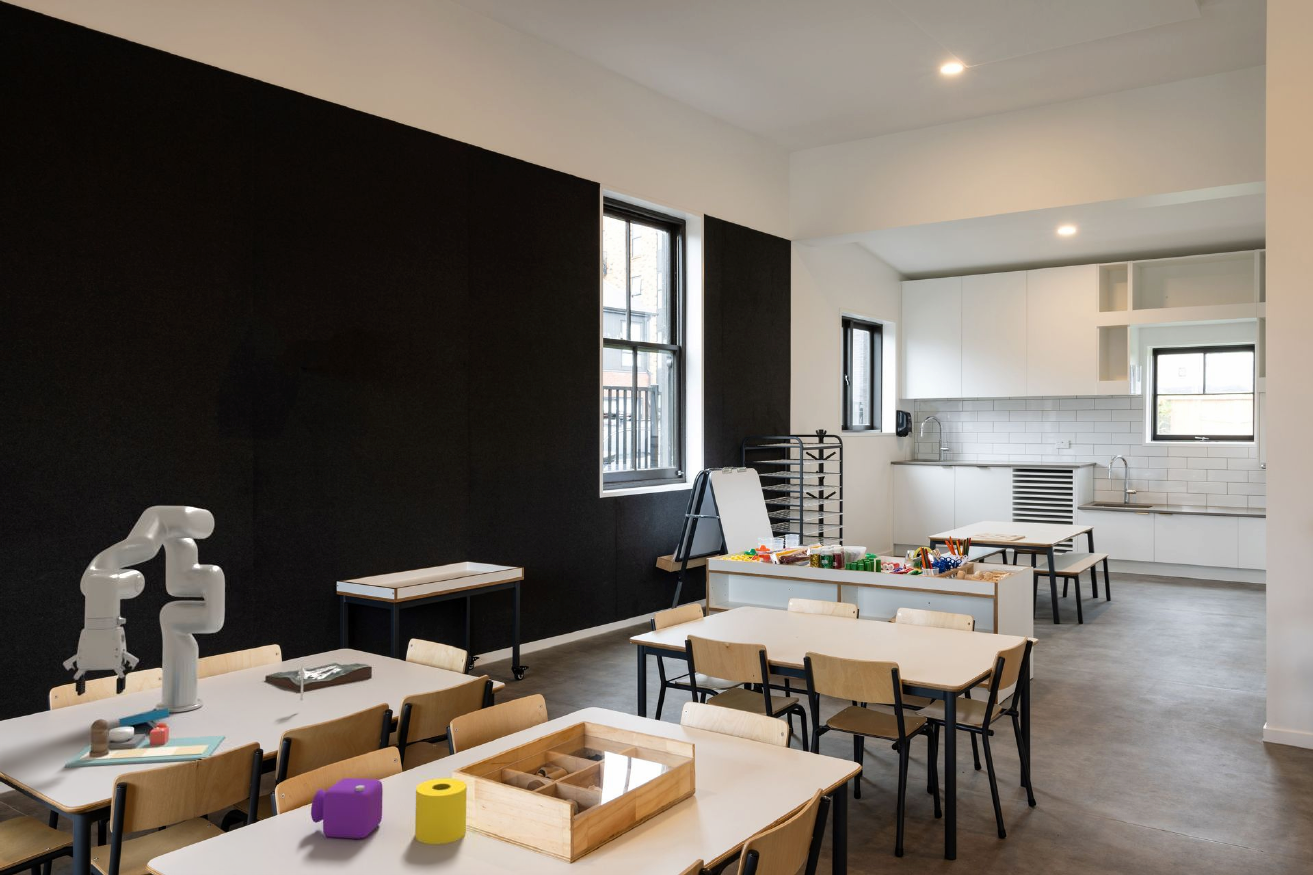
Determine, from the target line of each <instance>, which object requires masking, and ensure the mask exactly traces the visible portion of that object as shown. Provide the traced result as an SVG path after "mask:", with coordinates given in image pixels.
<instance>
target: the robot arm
mask: <svg viewBox="0 0 1313 875" xmlns="http://www.w3.org/2000/svg"><path fill="white" fill-rule="evenodd" d="M214 528H215V518H214V516H213V514H212V513H211V512H210V510H207V509H205V508H204V509H202V508H197V507H194V506H185V505H155V506H151V507H148V508H146V509H145V510H144V511H143V513H142V514H141V516H140V517H139V518H138V521H137V522H135V525H134V527H133V528H132V529H131V531H130V533H129V534H128V536H127V537H126V539H124V540H121V541H120V542H117V543H115V544H113V545H111V546H110V547H108V548H106V549H104V550H103V551H101V552H99V553H98V554H97V555H96V556H95V557H94V558H93V559H92V560H91V562H90V563H89V565H88V566H87V567H86V569H85V571H84V573H83V575H82V577H81V580H80V586H79V587H80V591H81V593H82V594H83V595H84V596H85V602H84V604H85V605H84V628H83V629H82V630H81V631H80V637H79V641H78V645H77V653H76V654H74V655H73V656H72V657H70V658H68V659H67V660H65V661H63V663H62V665H63V666H64V668H65V669H66V670H67V672H68V674H69V675H71V676H72V677H73V679H74V680H75V692H76V693H77V694H76V695H77V696H78V697H80V696H82V695H83V694H85V693H86V676H85V673H86V672H87V671H101V670H102V671H105V670H106V671H108V670H109V671H110V670H114V672H115V673H116V675H117V678H116V679H115V681H116V684H115V685H116V686H115V687H116V688H115V692H116V695H120V694H122V693H124V691H125V689H126V681H127V679H126V678H127V675H128V674H129V673H131V671H133V670H134V669H135V667H136V666H137V664H138V663H139V661H140V659H139V658H138V657H137V656H134V655H133V654H131V653H129V652H128V651H127V643H126V636H125V635H126V634H125V630H124V627H123V626H121V625H123V624H124V625H125V624H126V622H127V618H125V617H122V616H121V600H123V599H124V600H126V599H127V600H128V599H133V598H136V597H137V596H139V595H141V593H142V592H143V591H144V588H145V583H146V581H145V577H144V575H143V574H142V572H140V571H138V570H135V569H131V568H130V569H129V568H128V569H126V568H125V567H130V566H134V565H137V564H140V563H144V562H146V561H150V560H151V559H153V558H155V557H156V555H157V554H158V552H159V550H160V548H161V547H162V545H163V547H164V550H165V587H166V592H167V593H168V595H171V596H172V597H177V598H178V597H180V598H183V597H184V598H190V597H191V598H194V597H195V598H203V599H204V600H175V601H170V602H167V603H166V604H165V605H164V606H163V607H162V608H161V610H160V612H159V624H160V628H161V629H160V630H161V634H162V635H161V636H162V664H161V665H162V666H161V667H162V671H161V672H162V673H161V679H162V680H161V701H160V702H158V703H157V704H156V705H155V711H157V710H162V709H167V708H168V712H169V713H181V712H188V711H193V710H196V709H199V708H201V707H202V706H203V705H204V701H203V700H202V699H200V698H198V690H199V689H198V684H199V645H198V642H197V640H196V639H195V637H194V636H193V634H212V633H213V634H215V633H217V632H219V631H220V630H221V629H222V628H223V626H224V623H225V614H226V613H225V612H226V611H225V610H226V608H225V606H226V604H225V603H226V602H225V601H226V596H225V595H226V592H225V591H226V590H225V588H226V583H225V582H226V580H225V574H224V572H223V570H222V568H221V567H220V566H218V565H213V564H200V563H199V559H198V558H199V554H198V553H199V552H198V550H199V549H198V545H197V544H196V542H195V540H194V539H197V540H200V539H201V540H202V539H203V540H205V539H206V538H208V537H210V536H211V535H212V533H213V532H214ZM127 661H128V662H129V664H128V666H127V667H126V668H125V666H124V665H125V664H126V663H127ZM74 662H76V667H75V666H74V664H73V663H74Z"/></svg>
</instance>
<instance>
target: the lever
mask: <svg viewBox="0 0 1313 875" xmlns="http://www.w3.org/2000/svg"><path fill="white" fill-rule="evenodd" d="M169 717H170V712H168V708H167V709H162V710H152V711H148V712H143V713H139V714H134V715H130V716H127V717H122V718H119V719H118V720H119V721H118V722H119V727H131V726H134V725H139V724H144V723H147V724H148V725H149V726H150V727H152V728H153V729H154V728H157V727H158V728H166V727H168V726H167V724H165V723H157V722H155V721H157V720H162V719H166V718H169Z"/></svg>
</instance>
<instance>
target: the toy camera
mask: <svg viewBox="0 0 1313 875" xmlns="http://www.w3.org/2000/svg"><path fill="white" fill-rule="evenodd" d="M383 793H384V790H383V783H382V780H379V779H374V778H373V779H372V778H370V779H369V778H351V777H349V778H348V777H346V778H343V779H341V780H339V781H337V782H336V783H334V785H332V786H331V787H330V788H328V789H327V791H326V790H325V789H323V788H320V789H318V790H317V791H316V793H315V795H314V797H313V798H312V799H313V800H312V802H311V808H310V816H311V820H312V821H313V822H314V823H317V824H318V823H319V822H321V821H322V829H323V830H322V831H323V834H324V836H326V837H329V838H339V839H340V838H342V839H361V840H362V839H365V838H366V837H367V836H369V835H370V834H371V833H372V832H373V831H374V830H375V829H376V828H377V827H378V826H379V825H380V824H381V822H382V819H383Z"/></svg>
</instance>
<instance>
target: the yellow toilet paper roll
mask: <svg viewBox="0 0 1313 875" xmlns="http://www.w3.org/2000/svg"><path fill="white" fill-rule="evenodd" d="M467 791H468V790H467V783H466V782H465V781H463V780H461V779H456V778H450V777H449V778H448V777H446V778H445V777H444V778H434V779H430V780H426V781H423V782H421V783H419V784H418V785H417V786H416V787H415V821H414V822H415V823H414V824H415V826H414V827H415V830H414V832H415V833H414V834H415V835H414V837H415V839H416V841H419V842H421V843H422V844H423V843H425V844H431V845H442V844H449V843H453V842H455V841H458V840H460V839H462V838H463V837H464V836H465V835H466V833H467Z"/></svg>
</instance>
